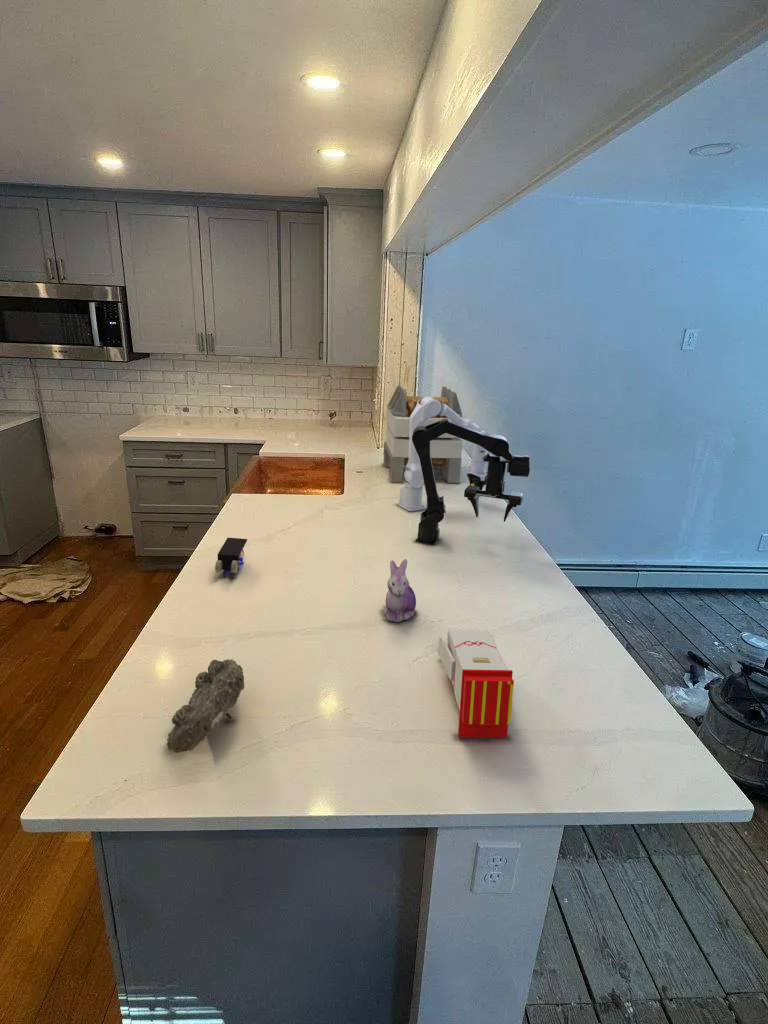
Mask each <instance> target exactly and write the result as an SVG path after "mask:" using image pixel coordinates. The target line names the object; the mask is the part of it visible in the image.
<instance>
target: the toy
mask: <svg viewBox="0 0 768 1024" xmlns="http://www.w3.org/2000/svg"><path fill="white" fill-rule="evenodd" d="M446 640H447V643H446V641H445V639H444V636H443V635H442V634H439V637H438V646H437V656H438V657H439V659H440V661H441V663H442V666H443V668H444V670H445V672H446V674H447V677H448V679H449V681H450V684H451V687H452V690H453V693H454V697H455V701H456V705H457V708H458V711H459V714H458V715H459V716H458V730H457V731H458V732H457V737H458V738H508V731H509V726H510V725H511V717H512V707H513V697H514V696H513V695H514V684H515V680H514V679H513V673H514V671H513V670H512V669H508V667H507V665H506V662H505V661H504V659H503V658H502V655H501V653H500V651H499V649H498V647H497V643H496V639H495V637H494V635H493V634H491V632H490V631H489V629H467V628H466V629H465V628H463V629H461V628H460V629H459V628H448V630H447V639H446Z"/></svg>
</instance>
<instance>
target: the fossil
mask: <svg viewBox="0 0 768 1024" xmlns="http://www.w3.org/2000/svg"><path fill="white" fill-rule="evenodd" d="M243 670H244V669H243V667H242V665H240V664H237V662H236V661H235V660H234V659H232V658H231V659H227V658H226V659H224V660H223V661H222V660H217V659H212V660H211V661H210V663H209V665H208V666H207V671H201V672H199V673H198V674H197V675H196V676H195V680H194V684H195V685H194V687H195V689H194V690H193V693H192V694H191V697H190V698H189V700H188V704H184V705H182V706H181V707H180V709H177V710H176V711H175V713H174V715H173V716H172V718H171V723H172V724H173V727H172V730H171V731H170V732H168V734H167V738H166V741H167V742H166V745H167V749H168V750H169V751H173V752H174V753H176V754H178V753H182V752H188V751H189V752H192V751H193V750H195V748H196V747H197V746H199V744H200V743H201V742H203V741H204V740H205V739H206V738H207V737H208V736H209V735H210V734H211V733H212V732H214V730H215V729H217V727H218V726H219V724H220V722H221V721H222V720H223V719H224V718H225V716H226V717H227V719H229V720H233V717H232V715H230V714H229V710H230V709H231V708H234V706H235V704H236V703H237V702H238V699H239V697H240V695H241V693H242V691H243V690H245V689H244V688H245V675H244V671H243Z"/></svg>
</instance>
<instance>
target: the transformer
mask: <svg viewBox="0 0 768 1024" xmlns="http://www.w3.org/2000/svg"><path fill="white" fill-rule="evenodd" d="M440 393H441V394H440V396H431V397H432V398H433V399H436V400H438V401H439V402H441V403H443V404H445V405H447V406H448V407H450V408H451V409H452V410H453V411H454V412H455V413H457V414H458V415H459V416H460V417H461V418H463V411H462V408H461V405H460V402H459V398H458V395H457V392H455V391H453V390H452V389H451V388H447V386H442V387H441V392H440ZM407 394H408V393H407V390H406V389H404V388H403V387H402V385H399V384H398V385H397V386H396V388H395V390H394V392H393V394H392V395H391V398H390V400H389V402H388V404H387V405H386V413H385V414H386V415H385V423H386V428H385V438H384V442H383V466H384V467H388V468H389V475H388V476H389V477H388V478H389V480H390V482H391V483H402V482H403V476H404V469H405V466H407V464H408V462H409V426H410V416H411V414H412V412H413V410H414V409H415V407H416V405H417V402H418V401H419V400H420V399H421V398H423V397H424V396H415V395H414V396H413V395H412V396H411V395H407ZM442 419H449V418H447V417H446V416H445V415H443V416H440V415H436V416H434V417H432V418H429V419H428V420H427V421H425V422H424V423H423V426H424V427H425V426H428V425H430V424H433V423H436V422H439V421H441V420H442ZM449 420H450V419H449ZM450 421H452V420H450ZM452 422H453V421H452ZM463 442H464V441H463V439H461V438H458V437H456V436H453V435H450V434H448V433H445V434H443V435H441V436H439V437H437V438H436V439H434V440H432V441H430V456H431V461H432V466H433V467H436V468H437V470H438V469H439V473H440V474H441V475H443V478H444V479H445V481H446V482H447V483H449V484H455V483H456V484H459V483H461V472H462V461H463V460H462V453H463Z"/></svg>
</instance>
